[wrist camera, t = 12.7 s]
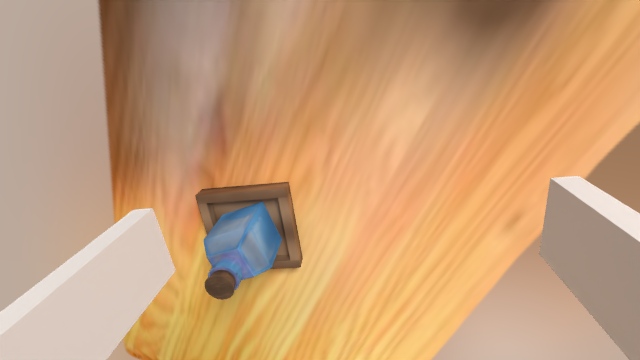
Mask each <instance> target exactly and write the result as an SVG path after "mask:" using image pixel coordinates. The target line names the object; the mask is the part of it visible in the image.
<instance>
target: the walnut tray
mask: <svg viewBox="0 0 640 360" xmlns="http://www.w3.org/2000/svg"><path fill="white" fill-rule="evenodd" d="M196 200H197V203H198V206H199V209H200V213H201V216H202V219H203V223H204V226H205V229H206V232H207V235H208V233H209V232H210V231H211V230H212V228H213V227H214V226H215V224H216V223H217V222H218V220H219V219H220V218H221V216H222V215H223V214H226V213H229V212H232V211H235V210H238V209H241V208H244V207H247V206H250V205H253V204H256V203H259V202H262V201H263V203H264V205H265V207H266V209H267V211H268V213H269V215H270V217H271V219H272V220H273V222H274V224H275V226H276V228H277V230H278V232H279V234H280V236H281V238H282V241H281V243H280V246H279V249H278V252H277V254H276V257H275V260H274V263H273V265H272V268H270V269H275V268H297V267H301V263H302V259H303V258H302V253H301V247H300V242H299V236H298V231H297V225H296V220H295V214H294V209H293V203H292V198H291V193H290V187H289V182H283V183H271V184H259V185H247V186H235V187H223V188H211V189H202V190H201V191H200V192H199V193H198V194H197V195H196Z"/></svg>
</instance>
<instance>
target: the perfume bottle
mask: <svg viewBox="0 0 640 360" xmlns="http://www.w3.org/2000/svg"><path fill="white" fill-rule="evenodd" d="M281 241H282V238H281V236H280V234H279V232H278V230H277V228H276V226H275V224H274V222H273V220H272V219H271V217H270V215H269V213H268V211H267V209H266V207H265V205H264V203H263V201H262V202H259V203H256V204H253V205H250V206H247V207H244V208H241V209H238V210H235V211H232V212H229V213H226V214H223V215H222V216H221V218H220V219H219V220H218V222H217V223H216V224H215V226H214V227H213V228H212V230H211V231H210V232H209V233H208V235H207V236H206V237H205V239H204V245H205V250H206V255H207V258H208V260H209V262H210V263H211V265H212V269H211V270H210V272H209V275H208V279H207V280H206V281H205V289H206V291H207V292H208V293H209V294H210V295H211V296H212V297H214V298H217V299H228V298H230V297H231V296H232V295H233V293H234V290H236V289H237V288H238V286H239V284H240V282H241V280H243V279H247V278H250V277H254V276H256V275H258V274H260V273H262V272H264V271H266V270H268V269H270V268H272V265H273V263H274V260H275V257H276V254H277V252H278V249H279V246H280V243H281Z"/></svg>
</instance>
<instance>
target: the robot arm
mask: <svg viewBox="0 0 640 360" xmlns="http://www.w3.org/2000/svg"><path fill="white" fill-rule="evenodd" d="M539 254H540V255H541V257H542V258H543V259H544V260H545V261H546V263H547V264H548V265H549V266H550V267H551V268H552V270H553V271H554V272H555V273H556V274H557V275H558V276H559V278H560V279H561V280H562V281H563V282H564V284H565V285H566V286H567V287H568V288H569V289H570V290H571V292H572V293H573V294H574V295H575V297H576V298H577V299H578V300H579V301H580V302H581V303H582V305H583V306H584V307H585V308H586V309H587V310H588V312H589V313H590V314H591V315H592V316H593V318H594V319H595V320H596V321H597V322H598V323H599V325H600V326H601V327H602V328H603V329H604V330H605V332H606V333H607V334H608V335H609V336H610V338H611V339H612V340H613V341H614V342H615V343H616V345H617V346H618V347H619V348H620V349H621V350H622V352H623V353H624V354H625V355H626V356H627V357H628V359H629V360H640V214H639V213H638V212H636V211H634V210H633V209H631V208H630V207H628V206H626V205H625V204H623V203H621V202H620V201H618V200H617V199H615V198H613V197H612V196H610V195H608V194H607V193H605V192H604V191H602V190H600V189H599V188H597V187H595V186H594V185H592V184H591V183H589V182H587V181H586V180H584V179H582V178H581V177H579V176H572V177H558V178H550V185H549V191H548V198H547V205H546V212H545V218H544V225H543V232H542V239H541V246H540V252H539ZM175 271H176V270H175V267H174V265H173V262H172V259H171V257H170V254H169V251H168V248H167V246H166V243H165V240H164V238H163V235H162V232H161V229H160V227H159V224H158V221H157V218H156V216H155V213H154V210H153V208H149V209H136V210H132V211H131V212H130V213H128V214H127V215H126V216H125V217H123V218H122V219H121V220H119V221H118V222H117V223H115V224H114V225H113V226H112V227H110V228H109V229H108V230H106V231H105V232H104V233H102V234H101V235H100V236H99V237H97V238H96V239H95V240H93V241H92V242H91V243H90V244H88V245H87V246H86V247H84V248H83V249H82V250H80V251H79V252H78V253H76V254H75V255H74V256H73V257H71V258H70V259H69V260H67V261H66V262H65V263H63V264H62V265H61V266H60V267H58V268H57V269H56V270H54V271H53V272H52V273H51V274H49V275H48V276H47V277H45V278H44V279H43V280H41V281H40V282H39V283H38V284H36V285H35V286H34V287H32V288H31V289H30V290H28V291H27V292H26V293H25V294H23V295H22V296H21V297H19V298H18V299H17V300H15V301H14V302H13V303H12V304H10V305H9V306H8V307H6V308H5V309H4V310H2V311H1V312H0V360H107V358H108V357H109V356H110V355H111V353H112V352H113V351H114V349H115V348H116V347H117V345H118V344H119V343H120V342H121V340H122V339H123V338H124V336H125V335H126V334H127V333H128V331H129V330H130V329H131V327H132V326H133V325H134V324H135V322H136V321H137V320H138V318H139V317H140V316H141V315H142V313H143V312H144V311H145V309H146V308H147V307H148V306H149V304H150V303H151V302H152V300H153V299H154V298H155V297H156V295H157V294H158V293H159V291H160V290H161V289H162V287H163V286H164V285H165V284H166V282H167V281H168V280H169V278H170V277H171V276H172V275H173V273H174V272H175Z"/></svg>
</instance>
